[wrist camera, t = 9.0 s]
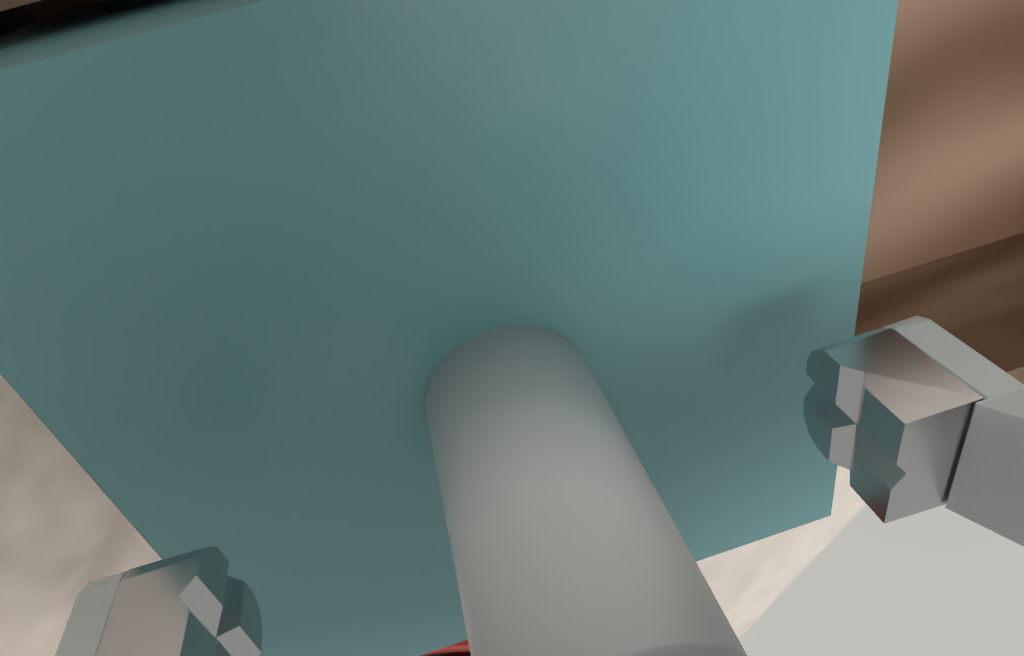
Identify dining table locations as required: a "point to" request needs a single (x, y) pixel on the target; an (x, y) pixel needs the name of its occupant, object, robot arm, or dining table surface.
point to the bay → (919, 173)
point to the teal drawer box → (443, 296)
